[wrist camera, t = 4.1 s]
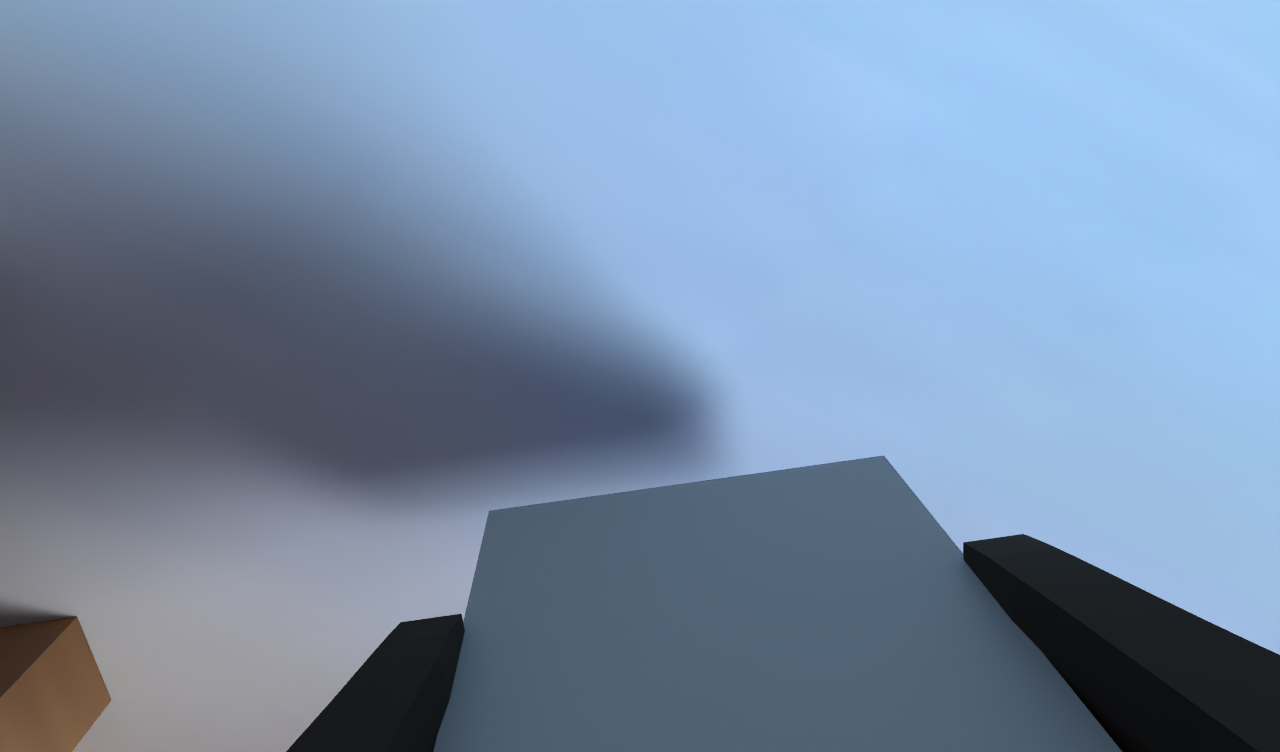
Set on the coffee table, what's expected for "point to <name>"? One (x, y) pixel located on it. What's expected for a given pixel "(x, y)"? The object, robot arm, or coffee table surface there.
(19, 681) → the domino
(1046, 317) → the coffee table surface
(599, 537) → the domino
